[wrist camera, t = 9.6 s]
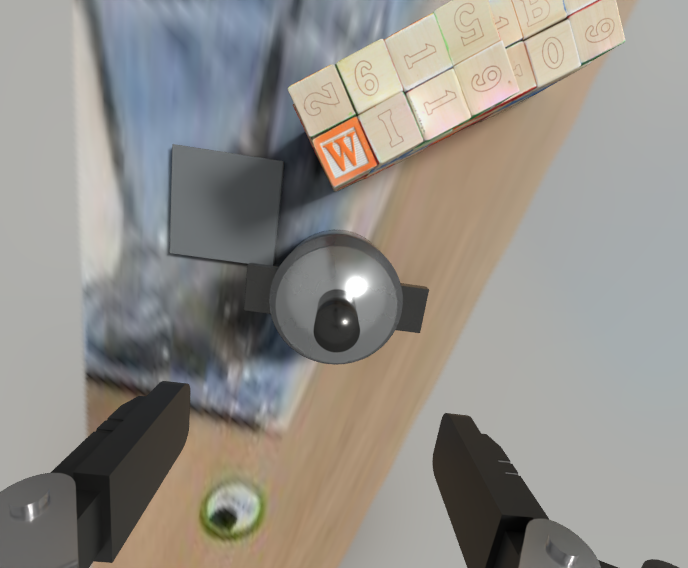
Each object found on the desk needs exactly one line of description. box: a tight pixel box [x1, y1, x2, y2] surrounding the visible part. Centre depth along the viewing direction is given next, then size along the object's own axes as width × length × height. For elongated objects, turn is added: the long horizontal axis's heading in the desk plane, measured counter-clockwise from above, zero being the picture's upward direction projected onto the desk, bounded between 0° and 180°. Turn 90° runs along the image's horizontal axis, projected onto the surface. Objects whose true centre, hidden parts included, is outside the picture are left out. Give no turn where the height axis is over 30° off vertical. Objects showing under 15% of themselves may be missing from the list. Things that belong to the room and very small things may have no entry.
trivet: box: [170, 144, 284, 266], centre depth 32 cm, size 10×10×1 cm
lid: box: [276, 245, 397, 363], centre depth 24 cm, size 10×10×6 cm
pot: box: [244, 230, 429, 364], centre depth 31 cm, size 11×15×7 cm
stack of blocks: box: [288, 0, 625, 192], centre depth 25 cm, size 21×6×12 cm, turn 115°
